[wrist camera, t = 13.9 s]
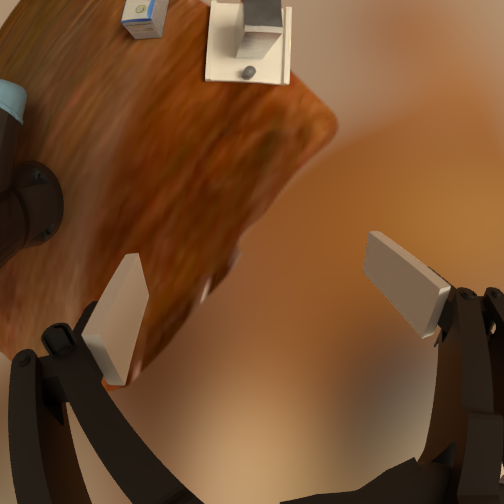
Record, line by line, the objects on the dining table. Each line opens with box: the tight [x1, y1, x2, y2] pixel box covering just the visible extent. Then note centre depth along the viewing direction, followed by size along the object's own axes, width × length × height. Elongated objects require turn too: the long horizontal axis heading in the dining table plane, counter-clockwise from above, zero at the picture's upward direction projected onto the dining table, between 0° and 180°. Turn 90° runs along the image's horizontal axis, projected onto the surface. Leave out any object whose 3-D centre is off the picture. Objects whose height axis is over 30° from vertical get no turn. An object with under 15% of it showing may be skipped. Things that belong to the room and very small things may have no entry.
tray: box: [205, 1, 292, 86], centre depth 30 cm, size 12×14×4 cm
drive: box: [234, 0, 283, 59], centre depth 26 cm, size 4×6×12 cm
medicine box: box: [121, 0, 169, 39], centre depth 24 cm, size 8×4×9 cm, turn 175°
